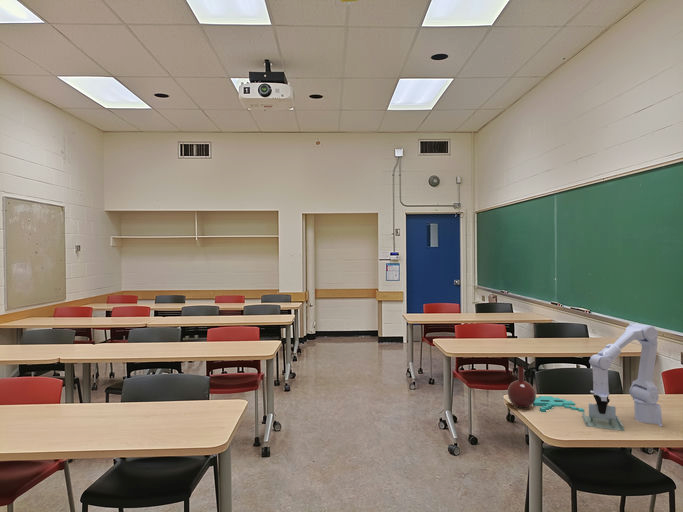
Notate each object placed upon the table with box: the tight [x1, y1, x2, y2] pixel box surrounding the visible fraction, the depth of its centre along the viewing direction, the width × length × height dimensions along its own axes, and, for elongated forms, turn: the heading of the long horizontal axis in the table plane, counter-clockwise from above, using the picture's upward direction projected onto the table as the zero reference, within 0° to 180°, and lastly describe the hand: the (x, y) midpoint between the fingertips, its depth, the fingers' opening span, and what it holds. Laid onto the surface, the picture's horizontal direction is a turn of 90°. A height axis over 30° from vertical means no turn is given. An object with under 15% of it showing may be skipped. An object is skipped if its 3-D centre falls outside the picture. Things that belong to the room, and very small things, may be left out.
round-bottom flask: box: [507, 366, 537, 409], centre depth 199 cm, size 13×13×20 cm
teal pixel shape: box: [532, 395, 586, 413], centre depth 200 cm, size 20×2×20 cm
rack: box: [581, 412, 625, 432], centre depth 175 cm, size 14×13×4 cm
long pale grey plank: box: [587, 402, 617, 421], centre depth 175 cm, size 10×1×6 cm, turn 65°
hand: (601, 412), depth 175 cm, fingers closed on long pale grey plank, 1 cm apart
